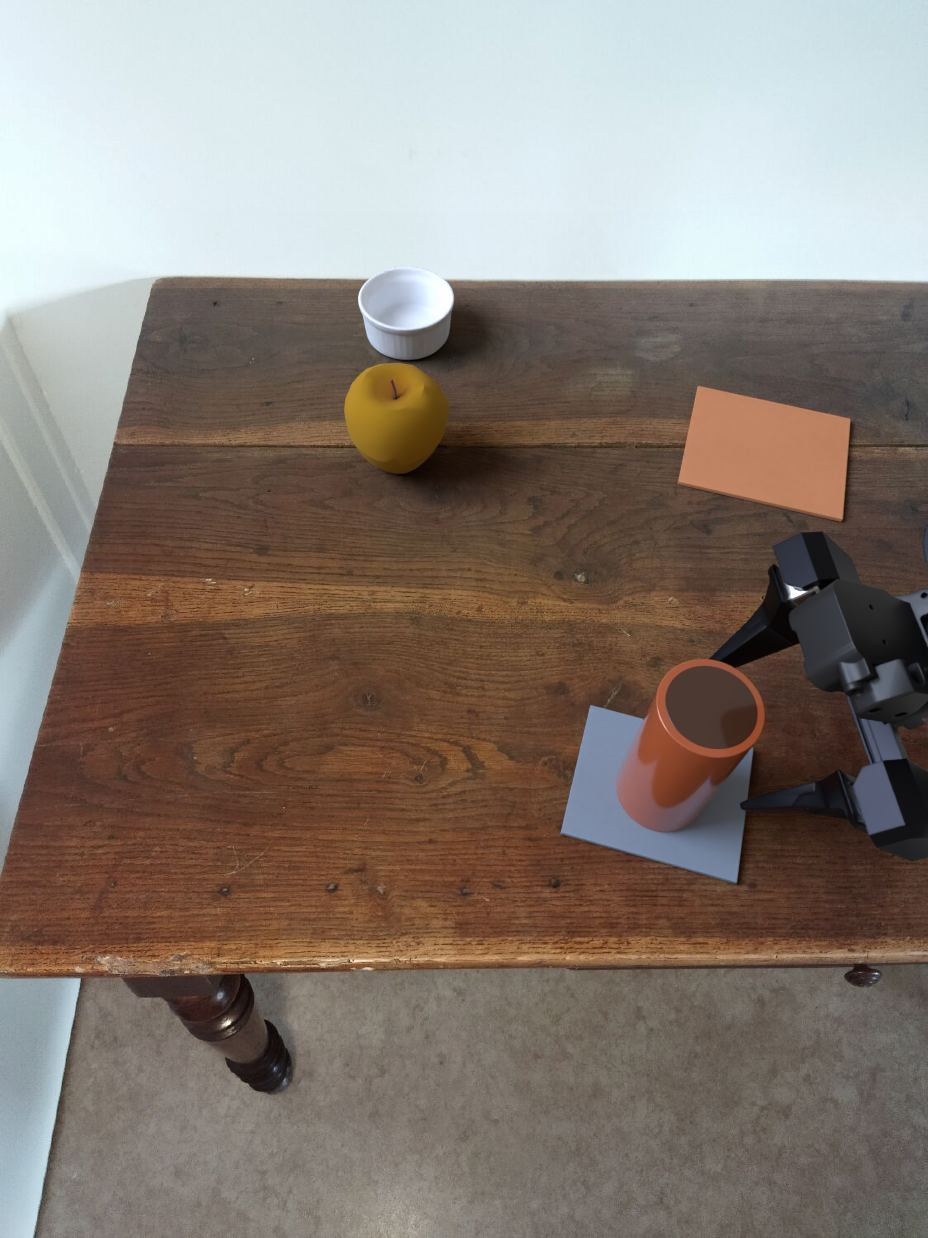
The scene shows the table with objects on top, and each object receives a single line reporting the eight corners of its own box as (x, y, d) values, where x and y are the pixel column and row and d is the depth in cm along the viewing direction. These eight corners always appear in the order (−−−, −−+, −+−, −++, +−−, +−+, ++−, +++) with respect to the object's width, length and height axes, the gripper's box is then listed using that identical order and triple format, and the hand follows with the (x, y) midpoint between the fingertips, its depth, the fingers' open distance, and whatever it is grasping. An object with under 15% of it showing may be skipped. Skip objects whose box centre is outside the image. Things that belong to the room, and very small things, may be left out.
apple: (455, 427, 79) (457, 351, 72) (437, 501, 75) (437, 428, 67) (362, 413, 80) (354, 336, 72) (339, 485, 76) (328, 411, 68)
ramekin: (343, 330, 85) (338, 293, 82) (412, 290, 89) (411, 252, 85) (403, 380, 82) (401, 343, 78) (472, 336, 85) (474, 299, 82)
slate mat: (752, 750, 64) (753, 747, 64) (735, 884, 59) (737, 882, 59) (589, 707, 65) (590, 704, 65) (560, 834, 60) (560, 832, 60)
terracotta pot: (710, 760, 63) (771, 673, 51) (697, 843, 60) (759, 770, 48) (624, 738, 64) (665, 646, 52) (608, 818, 61) (648, 740, 49)
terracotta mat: (849, 421, 81) (850, 418, 80) (841, 522, 75) (843, 519, 74) (697, 388, 82) (698, 385, 82) (677, 484, 77) (678, 481, 76)
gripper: (873, 428, 45) (622, 563, 54) (1026, 773, 36) (690, 870, 44) (944, 514, 52) (713, 621, 61) (1086, 819, 43) (788, 895, 52)
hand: (724, 735), depth 54 cm, fingers open, 9 cm apart
